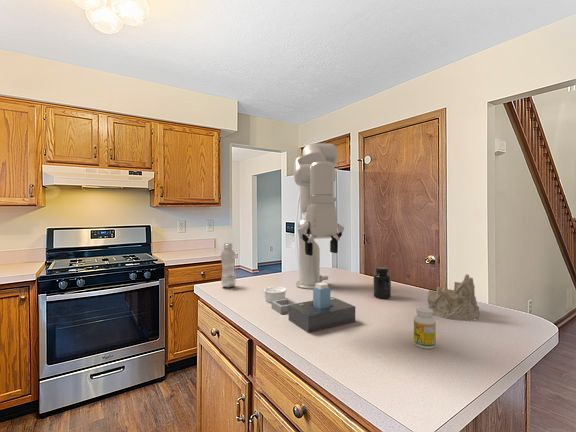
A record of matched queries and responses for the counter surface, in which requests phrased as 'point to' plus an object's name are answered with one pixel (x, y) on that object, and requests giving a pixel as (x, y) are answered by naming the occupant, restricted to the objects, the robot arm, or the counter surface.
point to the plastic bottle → (228, 266)
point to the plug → (321, 295)
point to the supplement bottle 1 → (382, 283)
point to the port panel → (321, 315)
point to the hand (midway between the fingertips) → (321, 253)
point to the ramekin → (274, 293)
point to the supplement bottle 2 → (424, 328)
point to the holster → (282, 305)
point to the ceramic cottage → (455, 301)
